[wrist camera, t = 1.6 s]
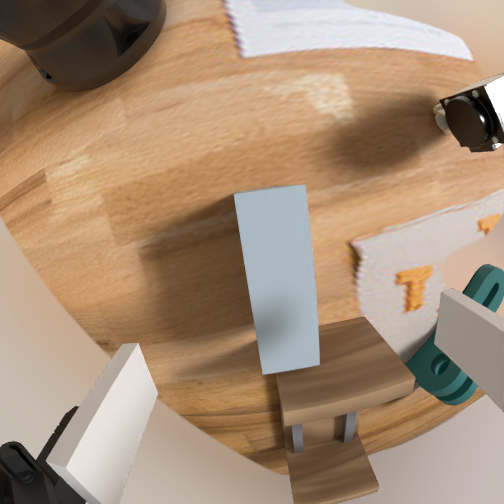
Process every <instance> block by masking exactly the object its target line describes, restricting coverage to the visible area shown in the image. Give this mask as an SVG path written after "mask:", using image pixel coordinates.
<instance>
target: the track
mask: <svg viewBox="0 0 504 504" xmlns="http://www.w3.org/2000/svg"><path fill="white" fill-rule="evenodd" d="M318 331H319V353H320V365H316V366H311V367H306V368H301V369H295V370H289V371H283V372H277V373H275V375H276V382H277V390H278V397H279V404H280V412H281V419H282V426H283V434H284V441H285V449H286V455H287V462H288V468H289V475H290V481H291V488H292V494H293V500H294V504H337V503H341V502H344V501H348V500H352V499H355V498H358V497H362V496H365V495H368V494H371V493H374V492H377V490H378V488H379V484H378V482H377V479H376V477H375V474H374V472H373V469H372V467H371V465H370V462H369V460H368V457H367V455H366V452H365V450H364V447H363V445H362V443H361V440H360V438H359V436H358V433H357V432H358V425H359V419H360V412H361V410H362V409H366V408H369V407H372V406H376V405H379V404H382V403H385V402H388V401H391V400H394V399H397V398H400V397H402V396H405V395H408V394H410V393H412V391H413V387H414V383H415V379H416V377H415V376H414V375H413V374H412V373H411V371H410V370H409V369H408V368H407V366H406V365H405V364H404V363H403V362H402V360H401V359H400V358H399V357H398V355H397V354H396V353H395V352H394V351H393V349H392V348H391V347H390V346H389V345H388V343H387V342H386V341H385V340H384V339H383V338H382V336H381V335H380V334H379V333H378V332H377V331H376V329H375V328H374V327H373V326H372V325H371V324H370V322H369V321H368V320H367V319H366V318H365V317H360V318H355V319H351V320H346V321H342V322H337V323H332V324H327V325H322V326H318Z"/></svg>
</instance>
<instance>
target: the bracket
mask: <svg viewBox="0 0 504 504" xmlns="http://www.w3.org/2000/svg"><path fill="white" fill-rule="evenodd" d="M462 294H464V295H466V296H467V297H469V298H471V299H473V300H474V301H476V302H478V303H479V304H481V305H483V306H484V307H486V308H488V309H489V310H491V311H493V312H494V313H495V312H496V311H497V309H498V307H499V306H500V304H501V302H502V300H503V297H504V272H503V270H502V269H499V268H497V267H495V266H492V265H490V264H485V265H482V266H481V267H480V268H479V269H478V270H477V271H476V272H475V274H474V275H473V277H472V278H471V280H470V281H469V283H468V284H467V286H466V288H465V289H464V290H463V292H462ZM435 335H436V330H435V332H434V333H433V334H432V335H431V336H430V338H429V339H428V340H427V341H426V342H425V344H424V345H423V346H422V347H421V348H420V349H419V351H418V352H417V353H416V354H415V355H414V356H413V357H412V359H411V360H410V361H409V362H408V363H407V364H406V366H407V368H408V369H409V370H410V371H411V373H412V374H413V375H414V376H415V377H416V379H415V380H416V381H417V382H418V384H419V385H420V386H421V387H422V388H423V389H424V390H426V391H427V392H429V393H430V394H432V395H434V396H435V397H436V398H437V399H439V400H440V401H442V402H443V403H445V404H447V405H452V406H453V405H458V404H461V403H463V402H465V401H466V400H468V399H469V398H470V397H471V396H472V395H473V394H474V392H475V391H476V389H477V387H478V385H477V384H476V383H475V382H474V381H473V380H472V379H471V378H470V377H469V376H468V375H467V374H466V373H465V372H463V371H462V370H461V369H460V368H459V367H458V366H457V365H456V364H455V363H454V362H453V361H452V360H451V359H450V358H449V357H448V356H447V355H446V354H445V353H444V352H442V351H441V350H440V349H439V348H438V347H437V346H436V345H435V344H434V341H435Z"/></svg>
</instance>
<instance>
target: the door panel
mask: <svg viewBox="0 0 504 504" xmlns="http://www.w3.org/2000/svg"><path fill="white" fill-rule="evenodd" d="M234 200H235V206H236V213H237V219H238V226H239V232H240V238H241V245H242V251H243V257H244V264H245V270H246V276H247V282H248V288H249V295H250V301H251V307H252V313H253V319H254V325H255V331H256V337H257V343H258V349H259V355H260V361H261V367H262V373H263V375H264V374H271V373H277V372H283V371H289V370H295V369H301V368H306V367H311V366H316V365H320V353H319V331H318V313H317V297H316V284H315V272H314V260H313V250H312V240H311V230H310V221H309V213H308V204H307V196H306V189H305V185H282V186H274V187H267V188H260V189H253V190H246V191H239V192H236V193H235V194H234Z"/></svg>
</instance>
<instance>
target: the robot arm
mask: <svg viewBox="0 0 504 504" xmlns="http://www.w3.org/2000/svg"><path fill="white" fill-rule="evenodd" d="M165 17H166V4H165V0H0V39H1V40H4V41H6V42H8V43H11V44H13V45H15V46H17V47H19V48H21V49H23V50H25V52H26V53H27V55H28V56H29V58H30V59H31V61H32V62H33V64H34V65H35V66H36V68H37V69H38V70H39V72H40V74H41V75H42V76H43V78H44V79H45V80H47V81H48V82H49V83H51V84H53V85H55V86H57V87H59V88H61V89H64V90H68V91H84V90H88V89H92V88H95V87H98V86H100V85H103V84H105V83H107V82H109V81H111V80H112V79H114V78H116V77H117V76H119V75H120V74H122V73H123V72H125V71H126V70H127V69H129V68H130V67H131V66H132V65H133V64H135V63H136V62H137V61H138V60H139V59H140V58H141V57H142V56H143V55H144V54H145V53H146V52H147V51H148V49H149V48H150V47H151V46H152V44H153V43H154V41H155V40H156V38H157V37H158V35H159V33H160V31H161V29H162V27H163V25H164V21H165ZM434 344H435V345H436V346H437V347H438V348H439V349H440V350H441V351H442V352H444V353H445V354H446V355H447V356H448V357H449V358H450V359H451V360H452V361H453V362H454V363H455V364H456V365H457V366H458V367H459V368H460V369H461V370H462V371H463V372H465V373H466V374H467V375H468V376H469V377H470V378H471V379H472V380H473V381H474V382H475V383H476V384H477V385H478V386H479V387H480V388H481V389H482V390H483V391H484V392H485V393H486V394H487V395H488V396H489V397H490V398H491V399H492V400H493V401H494V403H495V404H497V406H498V407H499V408H500V409H501V410H502V411H503V412H504V318H502V317H501V316H499V315H498V314H496V313H494V312H493V311H491V310H489V309H488V308H486V307H484V306H483V305H481V304H479V303H478V302H476V301H474V300H473V299H471V298H469V297H467V296H466V295H464V294H462V293H460V292H459V291H457V290H455V289H453V288H452V289H448V290H445V291H442V292H441V298H440V307H439V315H438V322H437V329H436V335H435V341H434ZM157 395H158V392H157V390H156V387H155V385H154V382H153V380H152V378H151V375H150V373H149V370H148V368H147V365H146V362H145V360H144V357H143V354H142V352H141V349H140V346H139V343H127V344H122V345H121V347H120V348H119V349H118V351H117V352H116V354H115V355H114V356H113V358H112V359H111V361H110V362H109V364H108V365H107V366H106V368H105V369H104V371H103V372H102V374H101V375H100V377H99V378H98V379H97V381H96V382H95V384H94V386H93V387H92V388H91V390H90V391H89V393H88V394H87V396H86V397H85V399H84V400H83V402H82V403H81V405H80V406H75V407H74V408H72V409H71V410H70V411H69V412H67V413H66V414H65V416H64V417H63V419H62V420H61V422H60V423H59V426H57V428H56V429H55V431H54V432H55V433H53V434H52V435H51V437H50V438H49V440H48V442H47V443H46V445H45V446H44V448H43V450H42V451H41V453H40V455H39V456H38V458H37V459H36V460H35V459H34V458H33V457H32V456H31V454H29V452H28V451H27V450H26V449H25V447H24V446H23V445H22V444H21V443H19V442H15V441H13V442H8V443H5V444H3V445H2V446H1V447H0V504H85V503H86V502H87V503H89V504H119V503H120V500H121V497H122V494H123V491H124V488H125V485H126V482H127V479H128V476H129V473H130V470H131V467H132V464H133V461H134V458H135V455H136V452H137V450H138V447H139V444H140V441H141V438H142V436H143V433H144V430H145V427H146V425H147V422H148V419H149V417H150V414H151V411H152V408H153V406H154V403H155V400H156V398H157Z"/></svg>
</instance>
